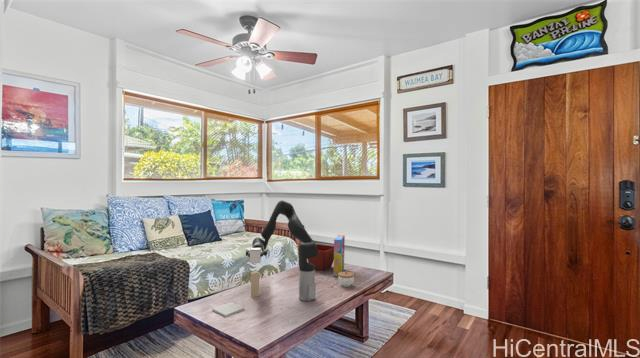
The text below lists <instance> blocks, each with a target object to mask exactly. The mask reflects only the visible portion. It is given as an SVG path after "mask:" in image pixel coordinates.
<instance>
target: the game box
mask: <svg viewBox="0 0 640 358" xmlns="http://www.w3.org/2000/svg"><path fill="white" fill-rule="evenodd" d="M345 239H346V235H344V234H343V235H341V234H338V235H337V236H336V237H335V238H334V240H333V246H334V261H333V275H332V276H333V277H338V276H339V275H338V273H340V272H344V271H345V243H346V242H345V241H346V240H345Z"/></svg>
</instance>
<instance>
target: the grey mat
mask: <svg viewBox="0 0 640 358" xmlns="http://www.w3.org/2000/svg"><path fill="white" fill-rule="evenodd" d="M244 310H245V307H244V306H242V305H239V304H237V303H235V302H233V301H230V302H228V303H224V304H221V305H219V306H215V307H214V308H212V309H211V311H212V312H215V313H217V314H218V315H221V316H223V317H225V318H226V317H227V318H228V317H229V316H232V315H234V314H236V313H239V312H242V311H244Z"/></svg>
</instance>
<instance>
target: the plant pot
mask: <svg viewBox="0 0 640 358" xmlns="http://www.w3.org/2000/svg"><path fill="white" fill-rule="evenodd" d="M315 244H316V243H315ZM316 245H317V248H318V255H317V256H316V257H314V258H308V259H307V262H308V263H312V264H314V266H315V270H316V269H317V271H322V272H324V271H327V270H329V269H331V268H332V266H333V265H334V245H326V244H322V243H321V244H319V243H317V244H316Z"/></svg>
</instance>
